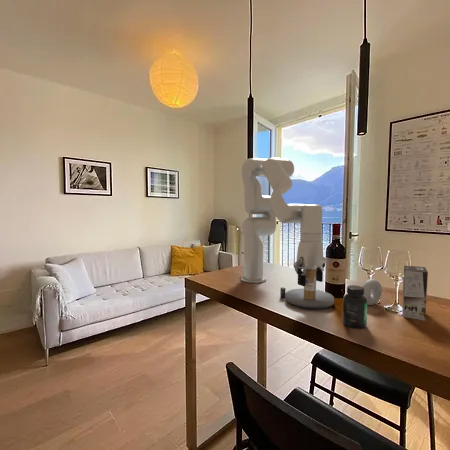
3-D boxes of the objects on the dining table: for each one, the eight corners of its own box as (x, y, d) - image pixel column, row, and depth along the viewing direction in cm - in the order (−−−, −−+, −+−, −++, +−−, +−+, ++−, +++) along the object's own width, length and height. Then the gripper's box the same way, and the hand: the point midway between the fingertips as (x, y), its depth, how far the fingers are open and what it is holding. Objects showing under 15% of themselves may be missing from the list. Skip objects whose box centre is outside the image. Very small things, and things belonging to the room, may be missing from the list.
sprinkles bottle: (301, 298, 103) (302, 263, 102) (306, 295, 107) (307, 261, 106) (313, 301, 100) (314, 264, 99) (318, 297, 104) (318, 262, 103)
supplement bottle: (371, 328, 84) (373, 290, 83) (351, 330, 83) (352, 291, 82) (357, 319, 91) (358, 283, 90) (338, 320, 90) (339, 284, 89)
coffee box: (425, 321, 89) (428, 272, 88) (402, 317, 93) (404, 269, 91) (423, 311, 97) (425, 266, 96) (401, 308, 100) (403, 264, 99)
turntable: (338, 309, 96) (339, 291, 96) (286, 306, 100) (286, 288, 99) (328, 291, 116) (328, 276, 115) (284, 289, 119) (284, 274, 119)
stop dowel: (279, 297, 112) (279, 288, 112) (282, 296, 114) (282, 287, 113) (282, 299, 111) (283, 289, 110) (286, 298, 112) (286, 288, 112)
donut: (366, 308, 100) (367, 281, 99) (358, 305, 103) (358, 279, 102) (383, 304, 105) (384, 278, 104) (375, 301, 108) (376, 276, 107)
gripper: (317, 235, 110) (316, 277, 111) (287, 238, 100) (286, 284, 101) (334, 237, 104) (333, 281, 105) (303, 240, 94) (302, 289, 95)
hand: (310, 283), depth 103 cm, fingers open, 9 cm apart
